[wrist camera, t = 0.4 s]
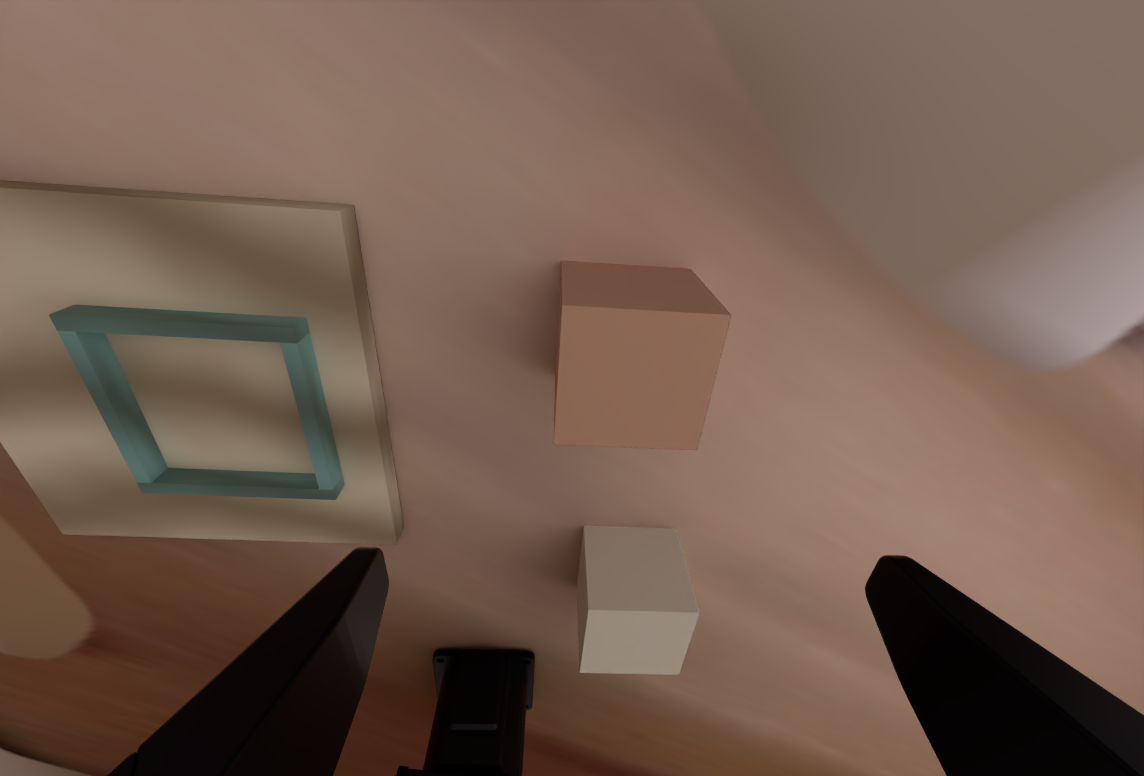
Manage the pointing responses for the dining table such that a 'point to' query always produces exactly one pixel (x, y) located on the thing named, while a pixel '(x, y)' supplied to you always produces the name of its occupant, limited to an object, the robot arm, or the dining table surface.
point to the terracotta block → (635, 356)
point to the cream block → (633, 601)
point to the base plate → (192, 366)
